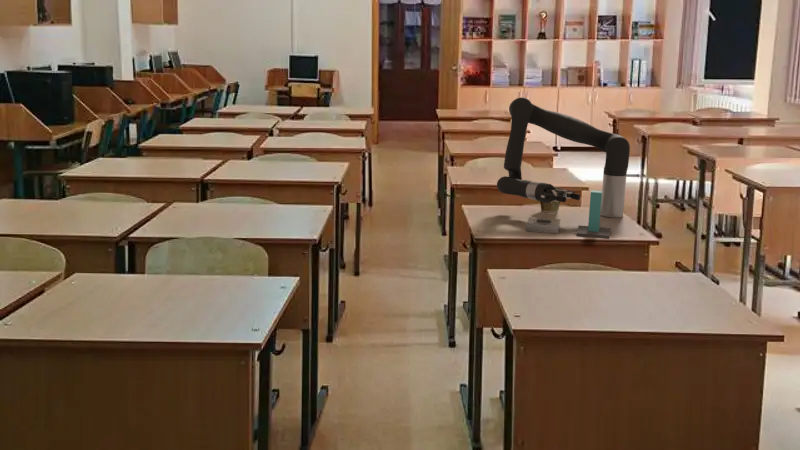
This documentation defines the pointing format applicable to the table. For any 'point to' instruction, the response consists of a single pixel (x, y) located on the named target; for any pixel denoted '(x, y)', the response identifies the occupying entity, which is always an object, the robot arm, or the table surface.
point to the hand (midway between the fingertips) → (572, 198)
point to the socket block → (543, 225)
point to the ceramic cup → (550, 205)
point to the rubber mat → (601, 234)
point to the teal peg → (594, 211)
